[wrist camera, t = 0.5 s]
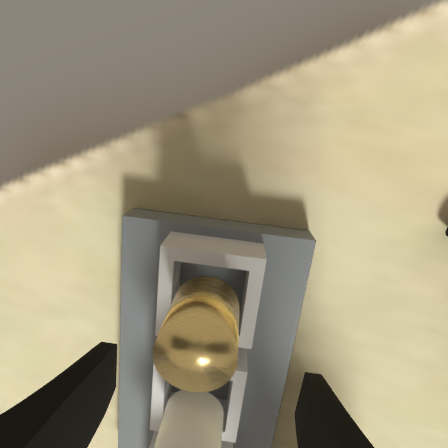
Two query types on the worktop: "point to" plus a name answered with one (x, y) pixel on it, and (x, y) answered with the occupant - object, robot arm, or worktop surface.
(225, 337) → the brass knob
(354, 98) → the worktop surface
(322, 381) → the robot arm
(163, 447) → the white middle knob
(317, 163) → the worktop surface
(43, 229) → the worktop surface
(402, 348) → the worktop surface
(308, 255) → the knob mount
